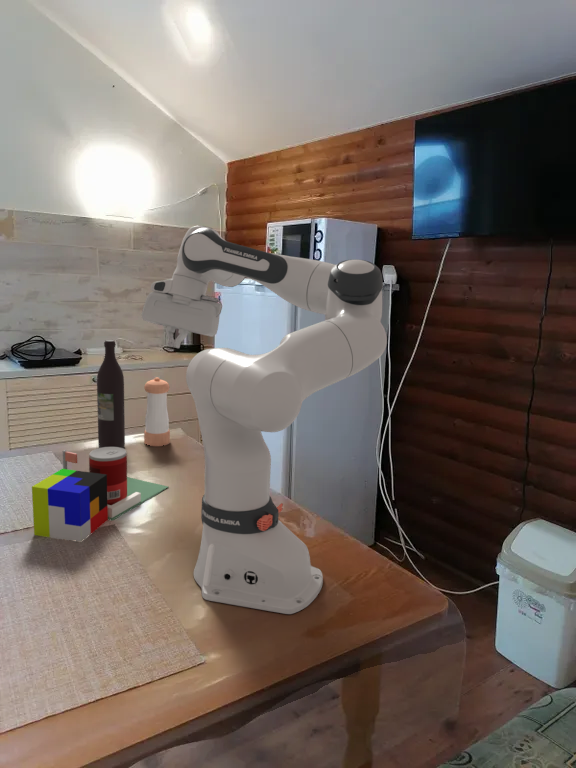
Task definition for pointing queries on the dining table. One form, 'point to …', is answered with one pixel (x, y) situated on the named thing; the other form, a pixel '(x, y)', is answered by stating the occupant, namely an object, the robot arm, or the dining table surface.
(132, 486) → the felt runner
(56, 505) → the puzzle toy
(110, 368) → the wine bottle
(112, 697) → the dining table surface
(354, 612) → the dining table surface
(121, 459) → the canned food
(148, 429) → the salt shaker
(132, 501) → the cup fence
